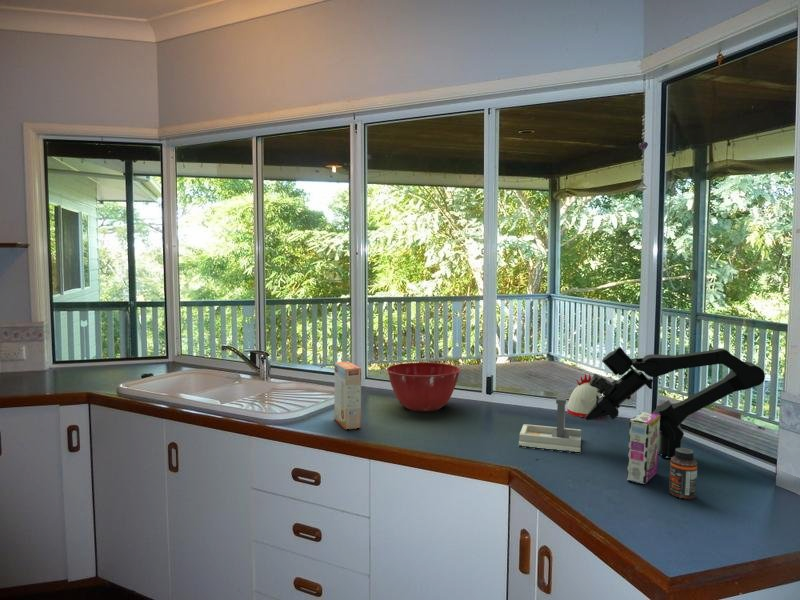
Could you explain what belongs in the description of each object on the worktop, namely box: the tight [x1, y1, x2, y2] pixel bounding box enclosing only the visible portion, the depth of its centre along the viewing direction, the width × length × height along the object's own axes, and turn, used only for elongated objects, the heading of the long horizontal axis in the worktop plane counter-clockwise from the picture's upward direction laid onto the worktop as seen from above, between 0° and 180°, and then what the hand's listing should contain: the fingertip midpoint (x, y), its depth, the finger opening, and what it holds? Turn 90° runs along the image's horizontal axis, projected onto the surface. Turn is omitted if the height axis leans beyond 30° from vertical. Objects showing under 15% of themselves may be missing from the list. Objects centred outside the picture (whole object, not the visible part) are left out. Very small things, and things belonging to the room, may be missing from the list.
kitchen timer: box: [566, 373, 601, 418], centre depth 210 cm, size 14×14×15 cm
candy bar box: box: [626, 411, 660, 485], centre depth 148 cm, size 11×5×16 cm, turn 141°
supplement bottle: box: [668, 447, 698, 500], centre depth 137 cm, size 6×6×11 cm
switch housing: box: [518, 423, 582, 453], centre depth 176 cm, size 18×14×4 cm
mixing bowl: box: [386, 361, 461, 413], centre depth 217 cm, size 28×28×16 cm
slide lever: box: [552, 393, 569, 438], centre depth 175 cm, size 5×8×13 cm, turn 161°
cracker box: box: [333, 361, 362, 430], centre depth 195 cm, size 14×6×21 cm, turn 22°
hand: (586, 418), depth 172 cm, fingers closed
